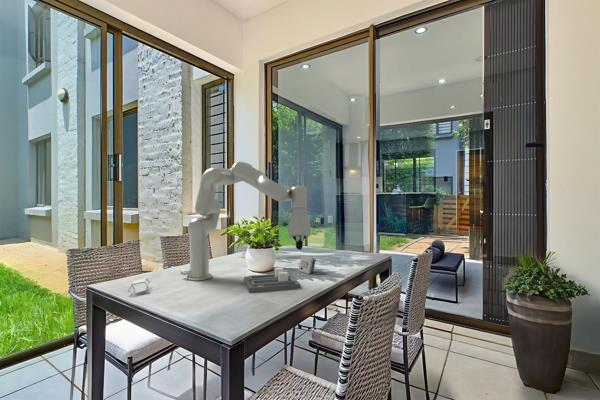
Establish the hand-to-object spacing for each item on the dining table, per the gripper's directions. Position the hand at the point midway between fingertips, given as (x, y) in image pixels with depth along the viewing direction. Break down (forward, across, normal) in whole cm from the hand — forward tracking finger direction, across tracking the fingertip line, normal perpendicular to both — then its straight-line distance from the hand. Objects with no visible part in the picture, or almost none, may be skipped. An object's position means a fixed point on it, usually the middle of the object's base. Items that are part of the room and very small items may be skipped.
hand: (299, 249), depth 150 cm
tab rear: (+15, -8, +9) cm, 19 cm away
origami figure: (+17, -72, +11) cm, 74 cm away
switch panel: (+17, -13, +4) cm, 22 cm away
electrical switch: (+18, +11, +22) cm, 31 cm away
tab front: (+15, -8, 0) cm, 17 cm away
